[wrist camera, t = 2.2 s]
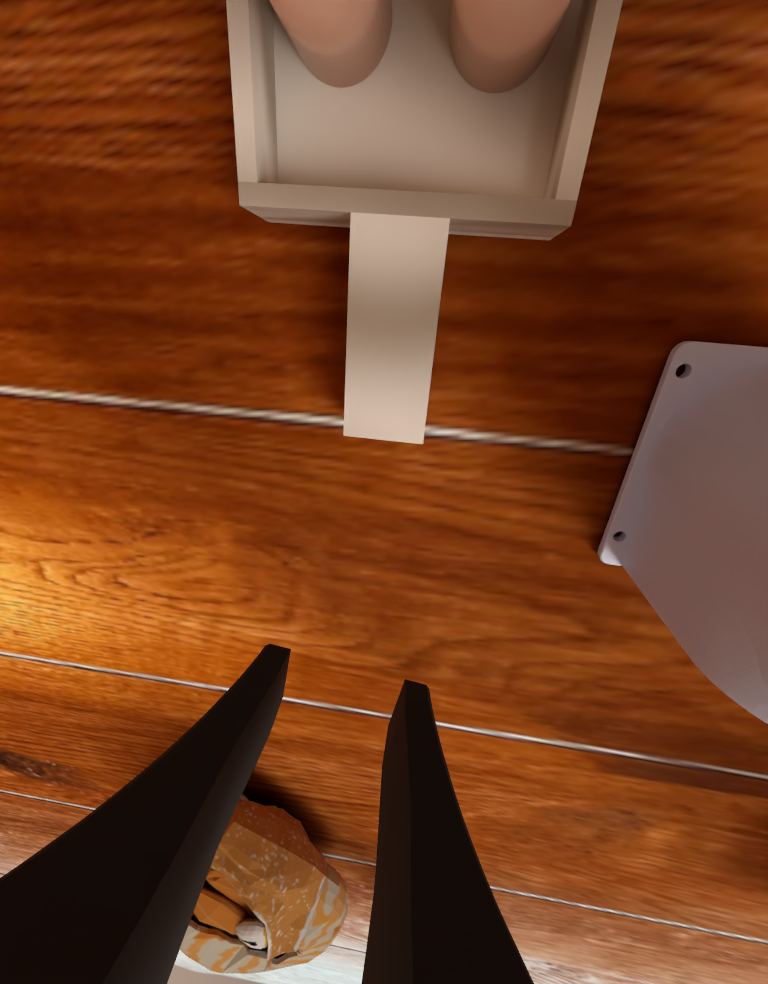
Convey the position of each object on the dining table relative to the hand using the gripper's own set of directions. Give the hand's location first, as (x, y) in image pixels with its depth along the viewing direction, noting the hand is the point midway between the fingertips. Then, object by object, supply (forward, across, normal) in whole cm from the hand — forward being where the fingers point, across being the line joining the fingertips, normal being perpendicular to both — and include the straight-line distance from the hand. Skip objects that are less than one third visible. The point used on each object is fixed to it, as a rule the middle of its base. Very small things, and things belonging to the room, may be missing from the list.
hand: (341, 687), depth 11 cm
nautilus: (+9, +4, +27) cm, 28 cm away
